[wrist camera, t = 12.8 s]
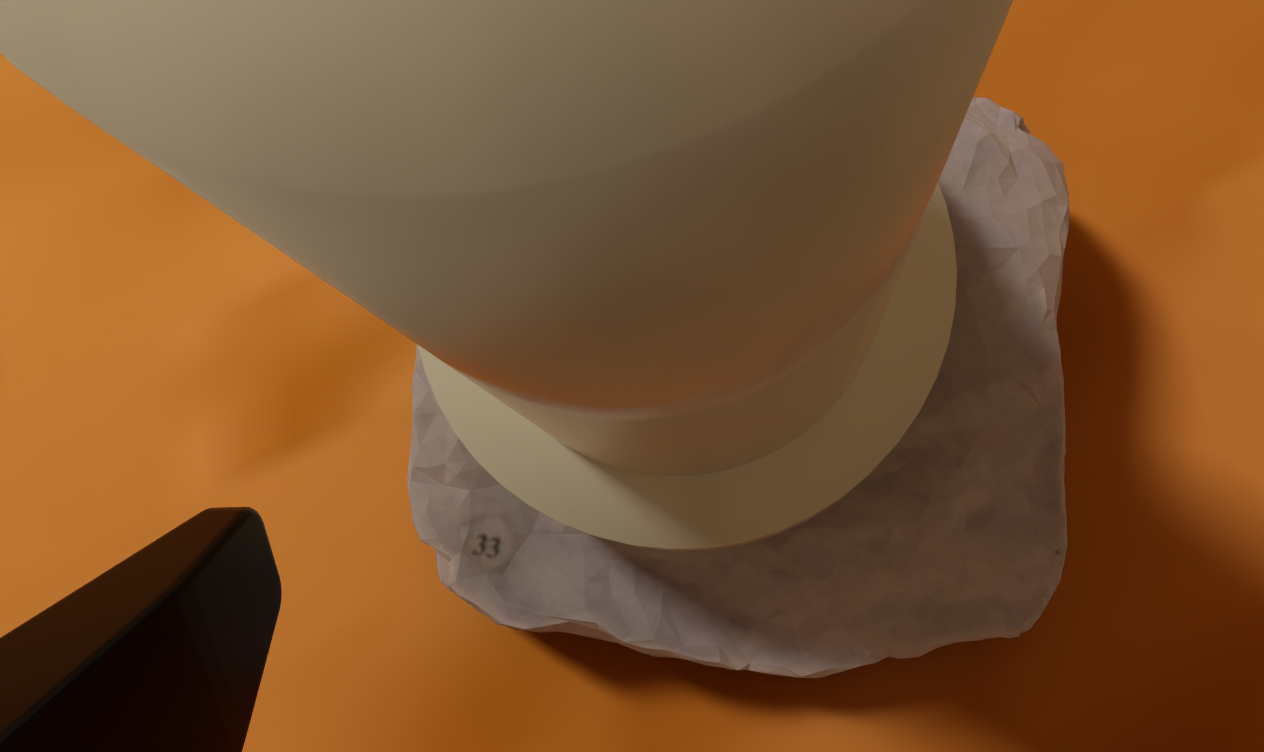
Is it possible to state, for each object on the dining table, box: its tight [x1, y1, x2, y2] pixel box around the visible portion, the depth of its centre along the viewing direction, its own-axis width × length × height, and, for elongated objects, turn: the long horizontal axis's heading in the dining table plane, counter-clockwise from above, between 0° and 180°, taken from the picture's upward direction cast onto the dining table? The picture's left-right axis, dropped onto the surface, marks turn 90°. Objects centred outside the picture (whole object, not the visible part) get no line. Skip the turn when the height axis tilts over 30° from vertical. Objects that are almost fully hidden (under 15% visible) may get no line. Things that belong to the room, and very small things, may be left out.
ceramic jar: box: [0, 0, 1013, 552], centre depth 11 cm, size 8×8×12 cm
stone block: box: [407, 97, 1070, 678], centre depth 19 cm, size 12×5×10 cm
